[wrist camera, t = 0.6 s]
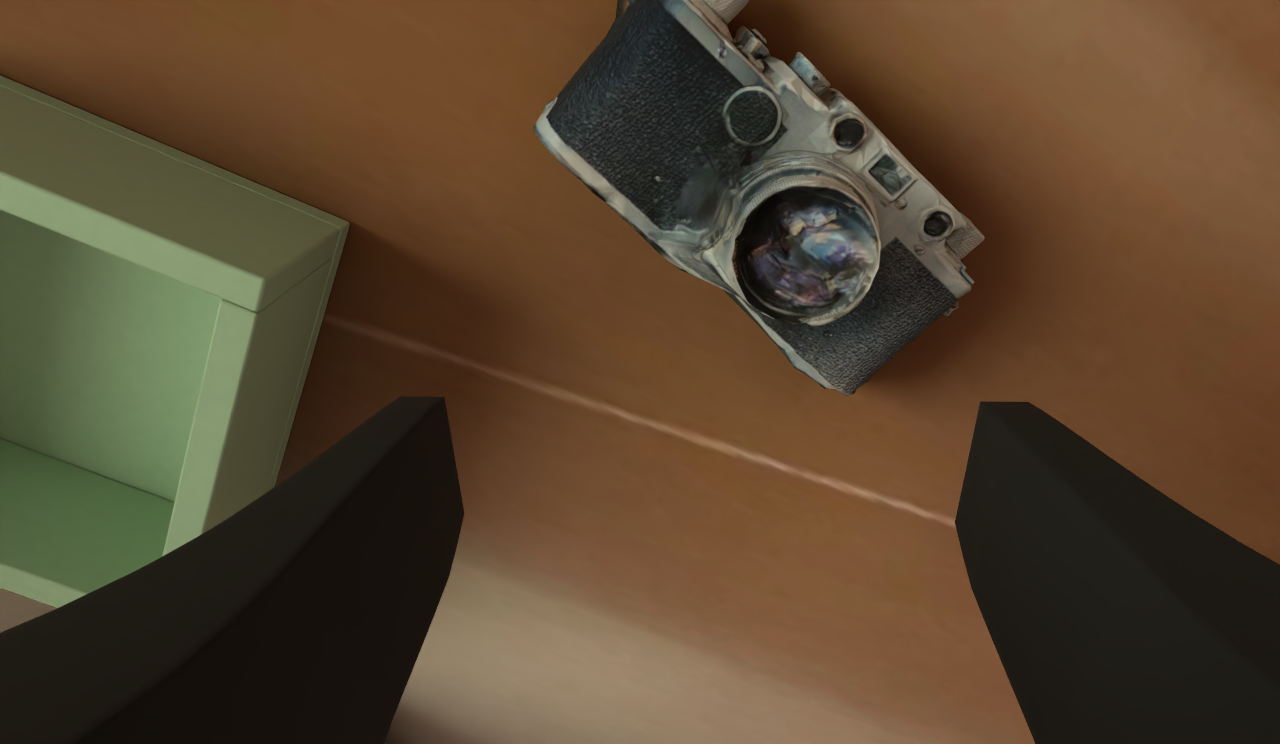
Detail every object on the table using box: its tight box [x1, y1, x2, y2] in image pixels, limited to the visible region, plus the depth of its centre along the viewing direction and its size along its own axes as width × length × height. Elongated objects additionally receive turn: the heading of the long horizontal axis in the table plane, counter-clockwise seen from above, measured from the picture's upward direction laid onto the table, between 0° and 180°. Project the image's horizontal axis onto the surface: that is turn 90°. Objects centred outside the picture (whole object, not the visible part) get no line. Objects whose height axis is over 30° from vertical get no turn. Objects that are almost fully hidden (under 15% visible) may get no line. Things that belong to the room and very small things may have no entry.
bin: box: [0, 75, 350, 608], centre depth 20 cm, size 11×11×5 cm
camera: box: [533, 0, 984, 396], centre depth 18 cm, size 5×10×4 cm, turn 48°
